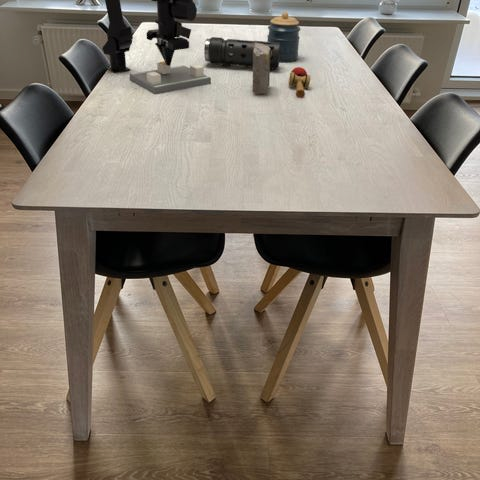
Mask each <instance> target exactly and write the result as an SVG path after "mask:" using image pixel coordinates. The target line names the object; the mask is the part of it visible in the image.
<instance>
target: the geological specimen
mask: <svg viewBox="0 0 480 480" xmlns="http://www.w3.org/2000/svg"><path fill="white" fill-rule="evenodd" d="M271 55H272V51H271V49H270V48H269V47H268V46H265V45H264V44H259V43H257V42H255V43H254V51H253V67H252V92H253V93H255V94H265V93H268V90H269V87H270V74H271V73H270V72H271V69H270V57H271Z"/></svg>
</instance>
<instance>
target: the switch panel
mask: <svg viewBox="0 0 480 480" xmlns="http://www.w3.org/2000/svg"><path fill="white" fill-rule="evenodd" d="M204 70H205V69H204V66H202V65H199V64H192V65H189V67H188V66H186V65H184V64H182V65H177V66H171V73H168V74H162V73H160V72H158V69H152V70H147V71H141V72H134V73H133V72H132V73H129V80H130V81H131V82H132V83H136V85H138V86H140V87H143V88H144V89H146V90H147V91H149V92H151V93H152V94H154V95H157V94H163V93H168V92H174V91H179V90H183V89H184V90H185V89H189V88H195V87H200V86H205V85H210V84H212V78H211V76H208V75H206V74H204V73H205V72H204Z"/></svg>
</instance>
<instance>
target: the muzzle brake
mask: <svg viewBox="0 0 480 480" xmlns="http://www.w3.org/2000/svg"><path fill="white" fill-rule="evenodd" d="M255 42H257V43H259V44H264V45H265V46H268V47H269V48H270V49H271V51H272V55H271V57H270V70H274V71H275V70H278V68H279V65H280V62H279V60H280V46H281V44H280V42H267V41H262V40H246V39H234V38H233V39H232V38H227V39H224V38H222V37H216V36H215V37H214V36H213V37H210V38H206V39H205V41H204V47H203V48H204V49H203V50H204V51H203V53H204V54H203V55H204V57H203V58H204V60H205V62H208V63H210V64H211V65H213V64H214V65H215V64H216V65H221V67H227V68H230V67H232V66H243V67H245V68H253V51H254V43H255Z"/></svg>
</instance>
